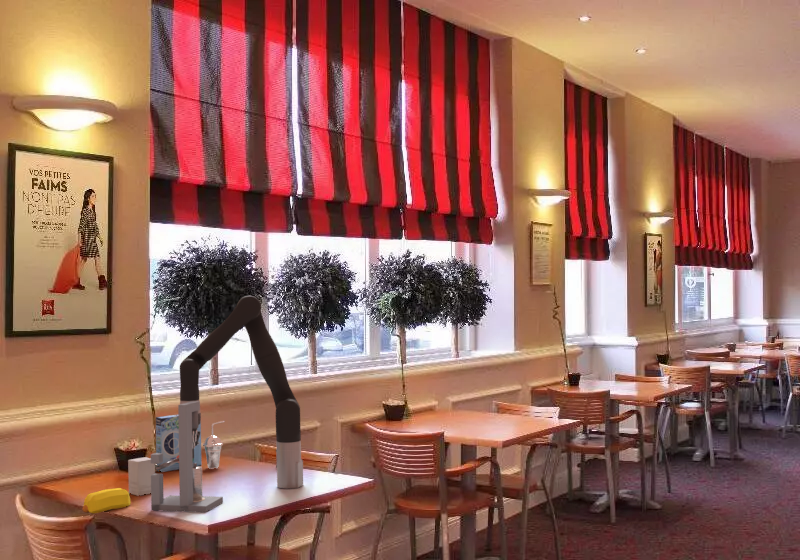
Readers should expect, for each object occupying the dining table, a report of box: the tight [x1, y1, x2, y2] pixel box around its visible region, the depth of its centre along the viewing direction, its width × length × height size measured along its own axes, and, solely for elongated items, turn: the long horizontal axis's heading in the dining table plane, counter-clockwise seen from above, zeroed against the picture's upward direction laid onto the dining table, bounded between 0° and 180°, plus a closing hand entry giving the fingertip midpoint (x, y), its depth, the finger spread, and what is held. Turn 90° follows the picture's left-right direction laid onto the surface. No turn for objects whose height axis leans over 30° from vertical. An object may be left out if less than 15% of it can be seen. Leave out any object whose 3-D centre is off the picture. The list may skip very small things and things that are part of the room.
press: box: [150, 400, 224, 513], centre depth 299 cm, size 20×14×36 cm
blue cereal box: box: [155, 412, 203, 473], centre depth 369 cm, size 20×5×23 cm, turn 134°
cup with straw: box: [202, 420, 225, 470], centre depth 368 cm, size 8×9×20 cm
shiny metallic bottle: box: [193, 463, 203, 501], centre depth 300 cm, size 5×5×12 cm
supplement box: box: [127, 456, 156, 497], centre depth 321 cm, size 7×7×13 cm
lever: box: [155, 455, 179, 472], centre depth 304 cm, size 3×20×3 cm, turn 168°
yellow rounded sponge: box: [82, 487, 132, 515], centre depth 297 cm, size 18×7×8 cm
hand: (190, 458), depth 320 cm, fingers closed
